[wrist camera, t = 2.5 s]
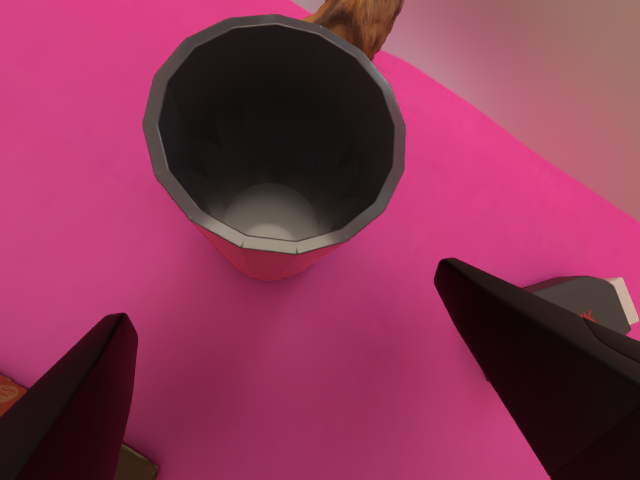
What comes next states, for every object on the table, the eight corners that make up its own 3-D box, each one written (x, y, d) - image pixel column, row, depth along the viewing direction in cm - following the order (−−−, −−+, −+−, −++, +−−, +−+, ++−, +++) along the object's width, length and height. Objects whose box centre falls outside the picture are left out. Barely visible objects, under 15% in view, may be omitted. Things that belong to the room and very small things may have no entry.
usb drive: (463, 306, 21) (491, 308, 19) (588, 267, 24) (629, 263, 21) (486, 381, 21) (519, 394, 18) (613, 331, 23) (658, 336, 21)
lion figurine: (340, 36, 24) (385, -115, 15) (381, 88, 24) (450, -34, 15) (172, 122, 20) (103, -13, 11) (219, 186, 20) (185, 98, 11)
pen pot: (316, 285, 20) (401, 267, 8) (210, 274, 19) (115, 233, 7) (324, 190, 21) (409, 46, 9) (227, 174, 20) (173, -13, 8)
